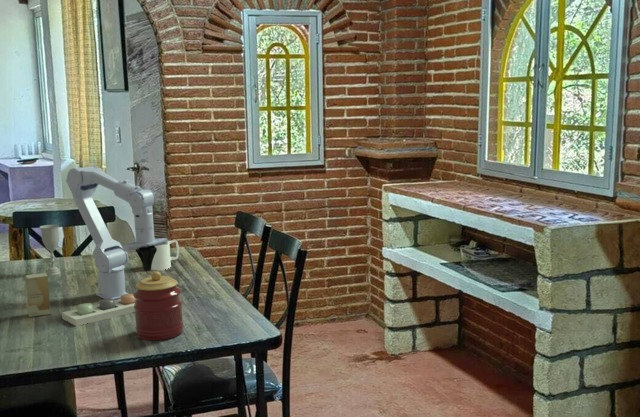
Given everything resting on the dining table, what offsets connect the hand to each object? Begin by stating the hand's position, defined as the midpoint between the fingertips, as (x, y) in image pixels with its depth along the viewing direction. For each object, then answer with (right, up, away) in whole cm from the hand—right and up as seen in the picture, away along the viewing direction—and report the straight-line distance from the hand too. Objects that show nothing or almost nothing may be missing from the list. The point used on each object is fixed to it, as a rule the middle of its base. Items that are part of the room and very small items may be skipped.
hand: (147, 270), depth 225 cm
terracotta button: (-5, -11, -5) cm, 13 cm away
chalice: (-45, -5, +41) cm, 62 cm away
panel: (-10, -12, -9) cm, 18 cm away
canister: (+10, -15, -29) cm, 34 cm away
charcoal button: (-10, -11, -10) cm, 18 cm away
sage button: (-15, -12, -14) cm, 24 cm away
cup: (-5, -3, +47) cm, 47 cm away
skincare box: (-31, -13, -8) cm, 35 cm away
